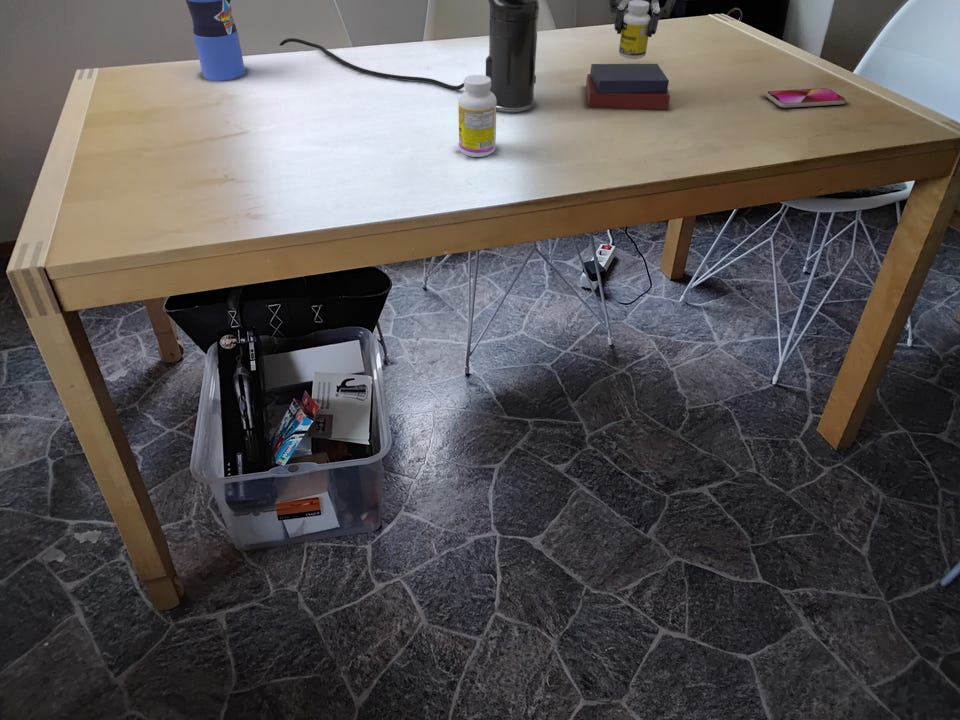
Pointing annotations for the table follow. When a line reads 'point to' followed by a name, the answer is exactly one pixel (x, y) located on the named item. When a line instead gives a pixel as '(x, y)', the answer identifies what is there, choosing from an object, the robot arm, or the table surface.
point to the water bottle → (216, 39)
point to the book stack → (627, 86)
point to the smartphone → (805, 97)
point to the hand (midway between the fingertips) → (634, 33)
